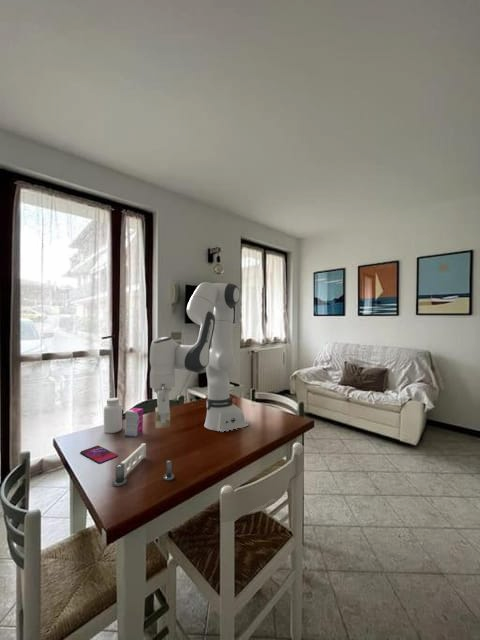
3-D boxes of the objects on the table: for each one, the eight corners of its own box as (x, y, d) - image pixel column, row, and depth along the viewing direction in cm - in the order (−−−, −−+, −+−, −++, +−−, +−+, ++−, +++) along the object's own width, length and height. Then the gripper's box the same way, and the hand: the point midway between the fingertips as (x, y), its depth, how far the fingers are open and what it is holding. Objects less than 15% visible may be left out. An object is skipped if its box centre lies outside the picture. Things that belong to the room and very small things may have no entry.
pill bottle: (107, 427, 139) (107, 397, 139) (124, 427, 139) (124, 396, 139) (100, 433, 131) (101, 401, 131) (118, 433, 131) (118, 401, 131)
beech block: (169, 422, 106) (169, 406, 106) (170, 426, 101) (170, 410, 101) (155, 423, 104) (155, 407, 104) (155, 428, 100) (155, 411, 100)
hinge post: (127, 477, 94) (127, 461, 94) (126, 485, 90) (126, 468, 90) (113, 480, 93) (113, 463, 93) (111, 487, 89) (111, 470, 89)
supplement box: (136, 437, 127) (136, 412, 127) (124, 436, 128) (124, 411, 128) (143, 432, 133) (143, 408, 133) (131, 431, 134) (132, 407, 134)
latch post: (174, 474, 97) (174, 458, 97) (174, 479, 93) (174, 463, 93) (163, 475, 96) (163, 459, 96) (163, 481, 92) (163, 464, 92)
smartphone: (99, 463, 103) (79, 451, 112) (99, 465, 103) (79, 454, 112) (118, 455, 109) (98, 444, 118) (118, 457, 109) (98, 447, 118)
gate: (124, 477, 93) (124, 463, 93) (120, 477, 93) (120, 463, 93) (145, 456, 108) (145, 443, 108) (142, 455, 108) (142, 443, 108)
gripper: (173, 387, 94) (173, 428, 94) (170, 375, 113) (170, 410, 113) (153, 388, 92) (153, 431, 92) (153, 376, 111) (153, 411, 111)
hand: (162, 419), depth 103 cm, fingers closed on beech block, 5 cm apart
